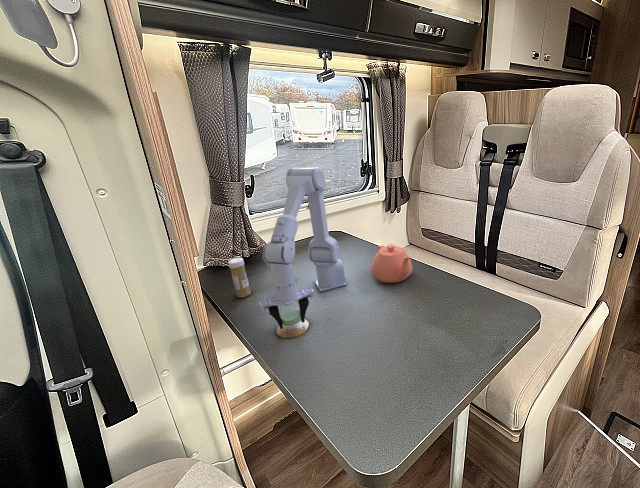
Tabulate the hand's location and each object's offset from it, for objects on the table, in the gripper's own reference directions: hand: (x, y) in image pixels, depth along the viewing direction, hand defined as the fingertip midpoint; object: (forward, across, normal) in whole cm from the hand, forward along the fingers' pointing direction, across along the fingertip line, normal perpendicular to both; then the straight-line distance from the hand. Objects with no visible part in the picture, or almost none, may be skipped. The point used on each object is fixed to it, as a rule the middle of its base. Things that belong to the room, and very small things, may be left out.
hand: (292, 323), depth 92 cm
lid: (-3, 0, 0) cm, 3 cm away
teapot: (+2, +39, +13) cm, 42 cm away
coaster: (+2, 0, 0) cm, 2 cm away
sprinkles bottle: (+2, -12, +28) cm, 31 cm away
